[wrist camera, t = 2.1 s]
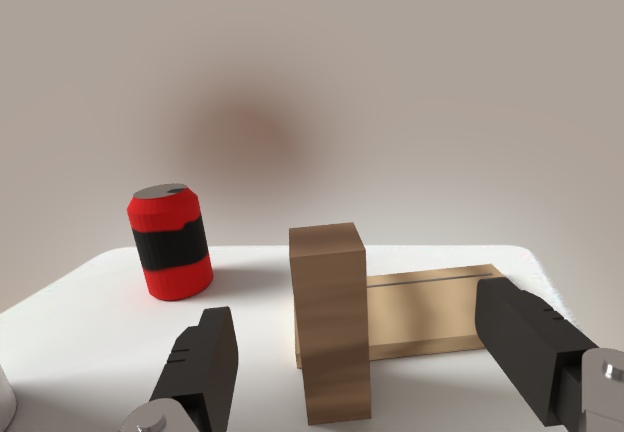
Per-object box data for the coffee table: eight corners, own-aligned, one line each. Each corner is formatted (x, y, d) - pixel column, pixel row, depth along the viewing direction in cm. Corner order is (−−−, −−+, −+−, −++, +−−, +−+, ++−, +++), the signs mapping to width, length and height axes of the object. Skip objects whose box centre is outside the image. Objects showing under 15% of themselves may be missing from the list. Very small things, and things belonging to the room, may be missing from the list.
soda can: (195, 303, 42) (172, 201, 37) (135, 300, 43) (107, 202, 39) (223, 270, 48) (207, 180, 44) (171, 268, 50) (150, 182, 46)
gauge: (371, 418, 26) (365, 249, 22) (308, 425, 26) (289, 257, 21) (341, 296, 40) (334, 180, 36) (301, 300, 40) (288, 185, 36)
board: (297, 368, 31) (295, 353, 31) (294, 295, 41) (293, 283, 41) (555, 340, 32) (558, 325, 31) (490, 275, 42) (491, 263, 41)
